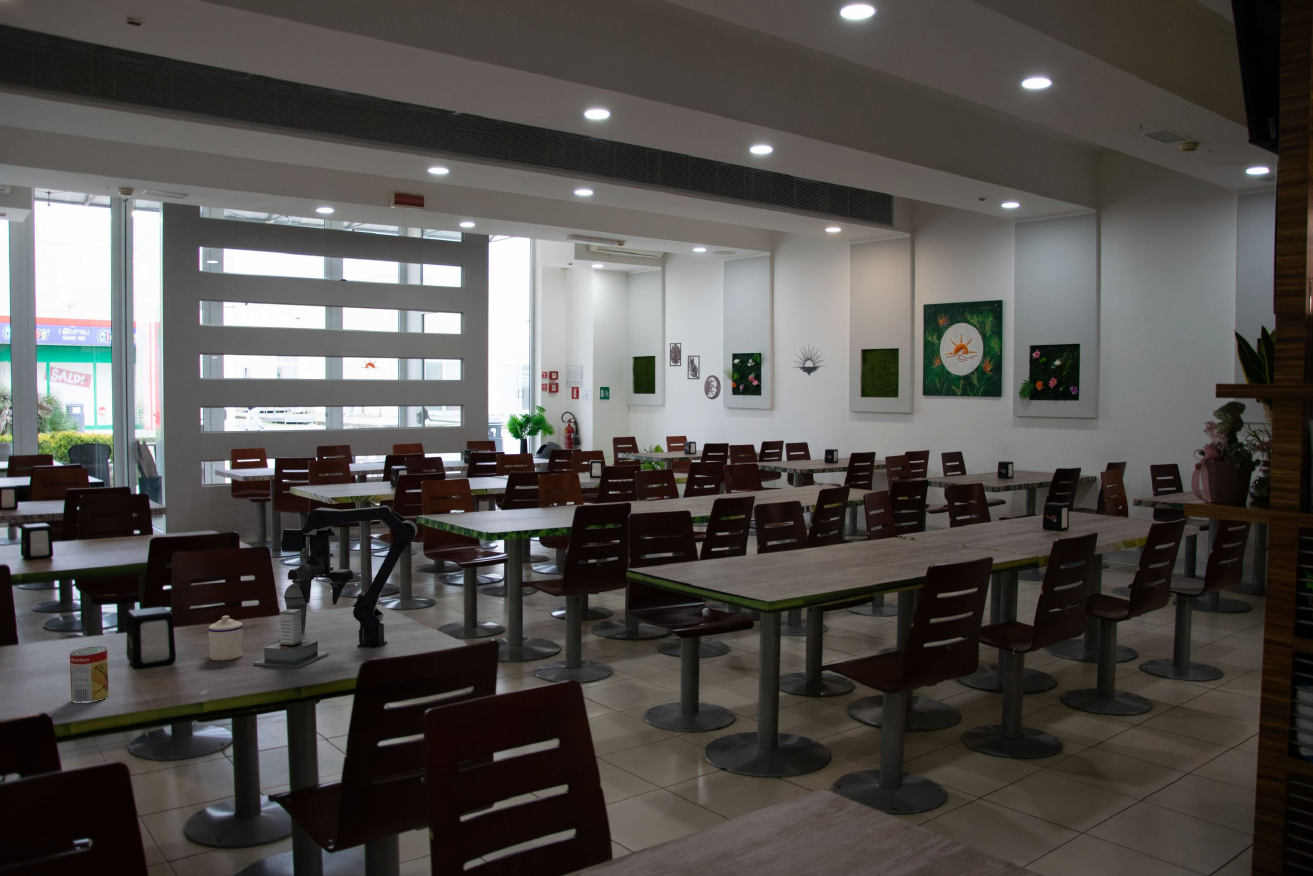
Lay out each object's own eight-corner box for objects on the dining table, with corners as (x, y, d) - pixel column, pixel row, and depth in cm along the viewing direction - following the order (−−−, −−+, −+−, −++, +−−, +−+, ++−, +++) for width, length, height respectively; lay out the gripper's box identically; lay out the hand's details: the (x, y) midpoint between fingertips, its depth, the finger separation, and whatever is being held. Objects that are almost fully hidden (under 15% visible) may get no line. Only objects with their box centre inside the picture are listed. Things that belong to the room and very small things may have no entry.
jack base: (328, 655, 268) (327, 639, 268) (297, 668, 254) (296, 651, 254) (286, 652, 272) (286, 636, 272) (253, 665, 258) (253, 648, 258)
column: (302, 641, 264) (301, 609, 264) (292, 645, 260) (291, 613, 260) (289, 640, 266) (288, 608, 265) (279, 644, 261) (278, 612, 261)
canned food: (114, 693, 234) (112, 645, 234) (100, 703, 226) (99, 653, 226) (80, 695, 233) (78, 647, 233) (65, 705, 225) (63, 655, 225)
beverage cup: (300, 635, 291) (299, 571, 290) (279, 634, 292) (278, 571, 292) (314, 630, 298) (312, 567, 297) (293, 629, 299) (291, 567, 299)
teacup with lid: (250, 655, 269) (249, 614, 269) (222, 662, 261) (221, 621, 261) (224, 649, 275) (223, 610, 275) (195, 657, 267) (194, 616, 267)
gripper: (274, 554, 270) (275, 608, 271) (330, 556, 265) (332, 611, 266) (299, 548, 281) (300, 600, 282) (353, 550, 276) (354, 603, 277)
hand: (321, 603), depth 276 cm, fingers open, 9 cm apart
